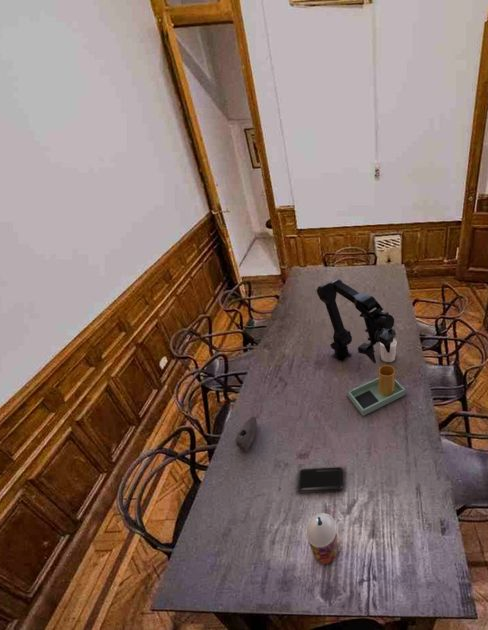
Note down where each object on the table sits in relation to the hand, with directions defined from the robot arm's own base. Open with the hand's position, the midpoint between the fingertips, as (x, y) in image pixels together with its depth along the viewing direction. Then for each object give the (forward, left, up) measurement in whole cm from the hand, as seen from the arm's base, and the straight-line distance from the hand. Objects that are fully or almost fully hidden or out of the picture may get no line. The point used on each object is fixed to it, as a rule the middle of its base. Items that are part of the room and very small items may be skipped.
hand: (381, 357), depth 148 cm
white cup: (-6, +14, -14) cm, 21 cm away
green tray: (+4, -9, -14) cm, 17 cm away
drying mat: (+2, -14, -13) cm, 19 cm away
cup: (+6, -4, -13) cm, 15 cm away
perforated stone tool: (-23, -56, -14) cm, 62 cm away
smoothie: (+27, -67, -14) cm, 73 cm away
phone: (+11, -52, -14) cm, 55 cm away
